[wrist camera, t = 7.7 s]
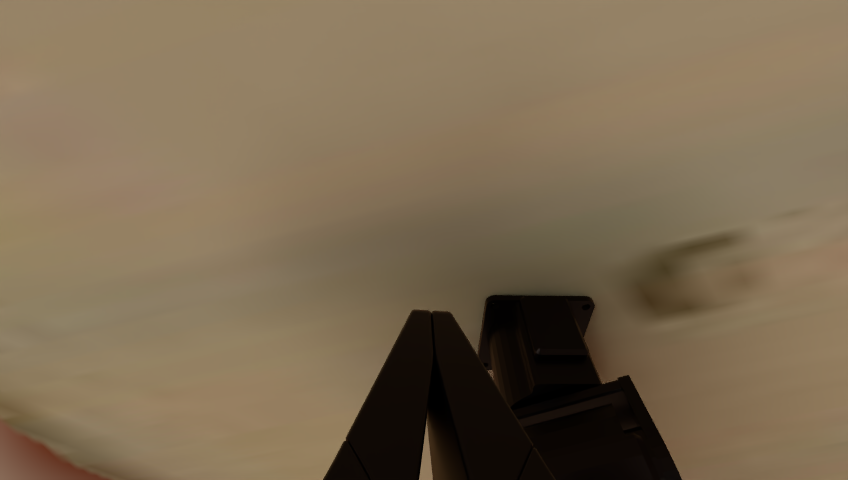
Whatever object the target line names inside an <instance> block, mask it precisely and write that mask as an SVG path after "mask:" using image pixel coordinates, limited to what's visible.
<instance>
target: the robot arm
mask: <svg viewBox="0 0 848 480" xmlns="http://www.w3.org/2000/svg"><path fill="white" fill-rule="evenodd" d="M493 303H496V304H493ZM585 304H586V305H585ZM594 306H595V305H594V303H593V301H592V299H591V298H590V297H587V296H512V295H493V296H490V297H488V298H487V299H486V301H485V308H484V314H483V321H482V328H481V334H480V341H479V348H478V355H477V354H476V352H475V350H474V349H473V347H472V346H471V344H470V342H469V341H468V339H467V338H466V336H465V334H464V333H463V331H462V330H461V328H460V326H459V325H458V323H457V322H456V320H455V318H454V317H453V315H452V314H451V313H450V312H448V311H433V312H432V313H431V312H430V311H428V310H413V311H412V312H411V313H410V315H409V317H408V319H407V321H406V323H405V325H404V327H403V328H402V330H401V332H400V334H399V336H398V338H397V340H396V342H395V344H394V346H393V348H392V350H391V352H390V354H389V355H388V357H387V359H386V361H385V363H384V365H383V367H382V369H381V371H380V373H379V375H378V377H377V379H376V381H375V383H374V384H373V386H372V388H371V390H370V392H369V394H368V396H367V398H366V400H365V402H364V404H363V406H362V408H361V410H360V411H359V413H358V415H357V417H356V419H355V421H354V423H353V425H352V427H351V429H350V431H349V433H348V435H347V437H346V441H344V442H343V444H342V446H341V448H340V450H339V451H338V453H337V455H336V457H335V459H334V461H333V463H332V465H331V466H330V468H329V470H328V472H327V473H326V475H325V477H324V479H323V480H419V475H420V467H421V459H422V452H423V444H424V436H425V428H426V420H427V426H428V436H429V445H430V455H431V465H432V474H433V480H682V479H681V477H680V474H679V472H678V470H677V468H676V466H675V464H674V461H673V459H672V457H671V455H670V453H669V451H668V449H667V447H666V445H665V443H664V441H663V439H662V437H661V435H660V433H659V432H658V430H657V428H656V426H655V424H654V422H653V420H652V418H651V416H650V415H649V413H648V411H647V409H646V407H645V405H644V403H643V401H642V399H641V398H640V396H639V394H638V392H637V390H636V388H635V386H634V384H633V382H632V381H631V379H630V377H629V375H626V376H623V377H619V378H618V380H616V381H612V382H608V383H605V384H602V382H601V380H600V378H599V375H598V373H597V370H596V368H595V366H594V363H593V361H592V358H591V356H590V354H589V350H588V347H587V345H586V343H585V340H584V338H583V337H584V335H585V332H586V329H587V326H588V324H589V321H590V318H591V315H592V312H593V310H594ZM487 370H492V371H493V377H494V381H493V379H492V378H491V376H490V374H489V373H488V371H487Z"/></svg>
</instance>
